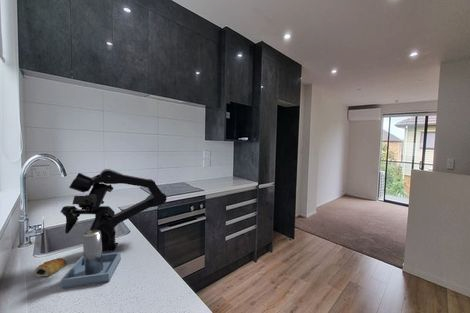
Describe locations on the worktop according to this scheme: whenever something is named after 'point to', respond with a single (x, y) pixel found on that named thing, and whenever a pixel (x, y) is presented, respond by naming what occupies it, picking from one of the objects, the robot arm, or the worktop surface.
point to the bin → (80, 279)
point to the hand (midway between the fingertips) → (78, 233)
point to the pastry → (49, 267)
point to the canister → (92, 252)
